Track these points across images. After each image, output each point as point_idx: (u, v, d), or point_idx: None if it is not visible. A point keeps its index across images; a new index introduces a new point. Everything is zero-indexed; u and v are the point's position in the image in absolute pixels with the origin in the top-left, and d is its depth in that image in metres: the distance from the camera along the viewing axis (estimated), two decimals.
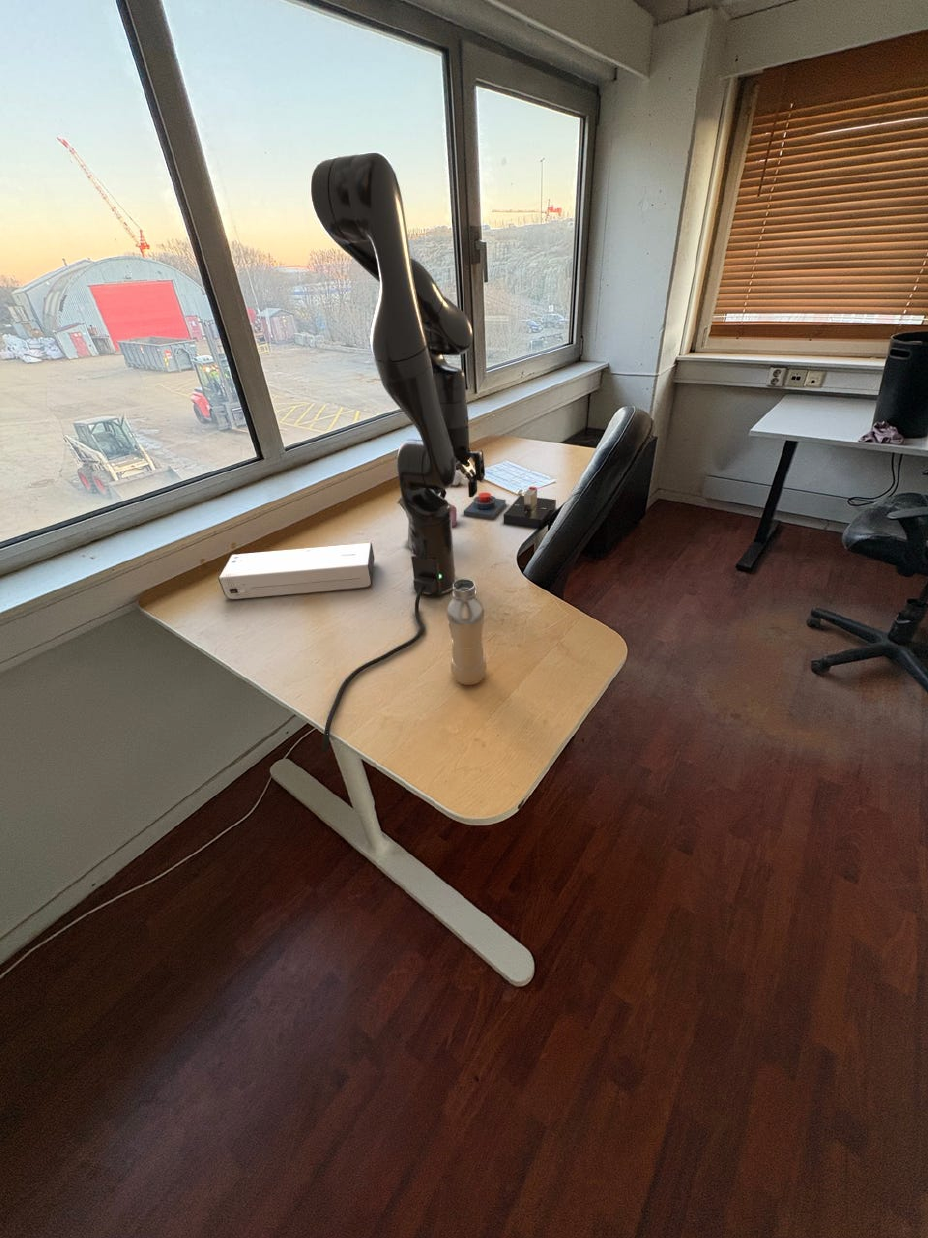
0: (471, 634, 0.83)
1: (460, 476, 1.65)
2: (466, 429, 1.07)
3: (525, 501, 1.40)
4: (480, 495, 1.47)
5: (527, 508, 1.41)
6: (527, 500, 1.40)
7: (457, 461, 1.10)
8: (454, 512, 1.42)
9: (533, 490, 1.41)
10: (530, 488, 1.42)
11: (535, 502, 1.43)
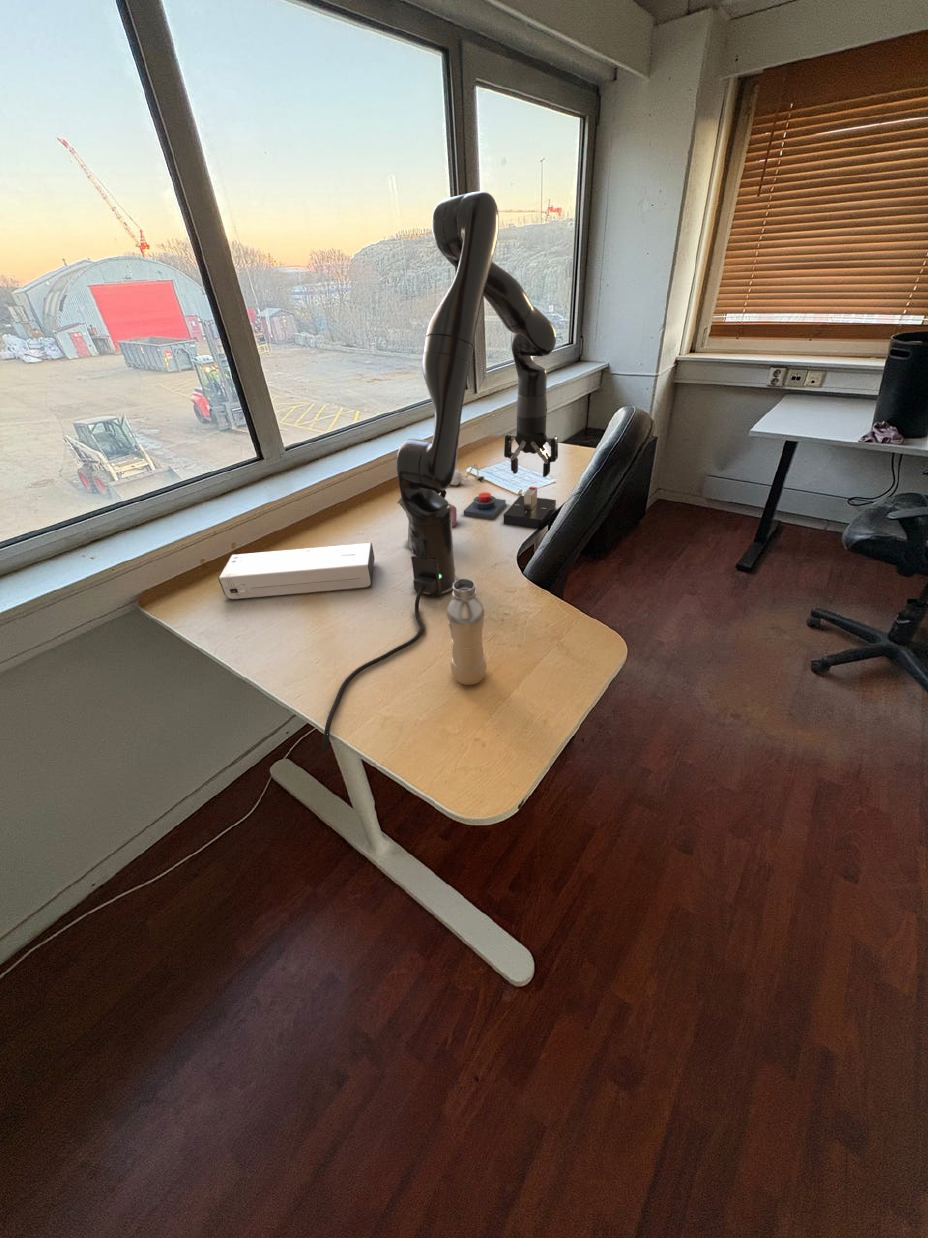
0: (471, 634, 0.83)
1: (460, 476, 1.65)
2: (545, 418, 1.27)
3: (525, 501, 1.40)
4: (480, 495, 1.47)
5: (527, 508, 1.41)
6: (527, 500, 1.40)
7: (535, 445, 1.30)
8: (454, 512, 1.42)
9: (533, 490, 1.41)
10: (530, 488, 1.42)
11: (535, 502, 1.43)
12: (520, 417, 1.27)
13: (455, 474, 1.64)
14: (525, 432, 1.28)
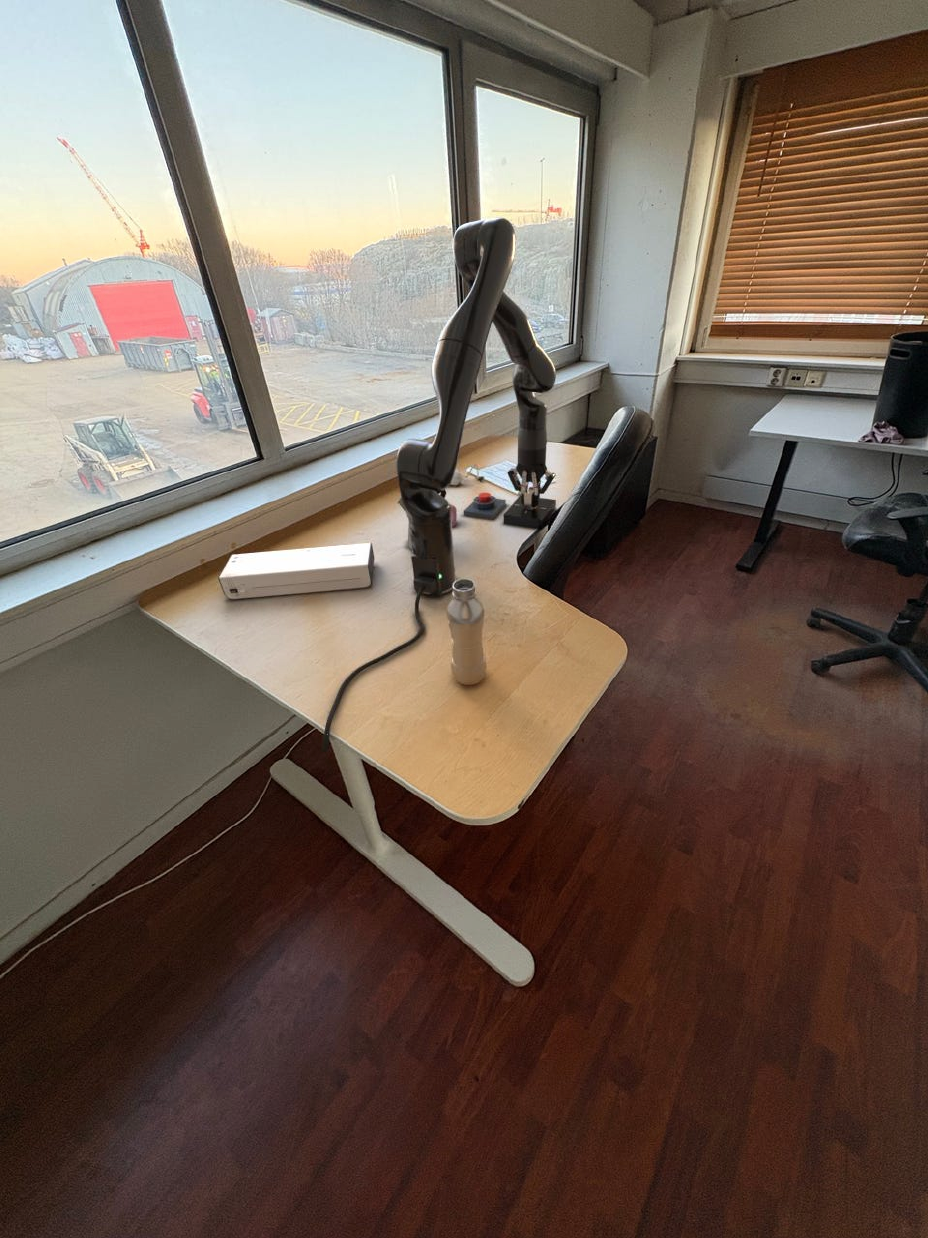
0: (471, 634, 0.83)
1: (460, 476, 1.65)
2: (545, 450, 1.32)
3: (525, 501, 1.40)
4: (480, 495, 1.47)
5: (527, 508, 1.41)
6: (527, 500, 1.40)
7: (534, 476, 1.36)
8: (454, 512, 1.42)
9: (533, 490, 1.41)
10: (530, 488, 1.42)
11: None
12: (521, 449, 1.32)
13: (455, 474, 1.64)
14: (526, 463, 1.33)
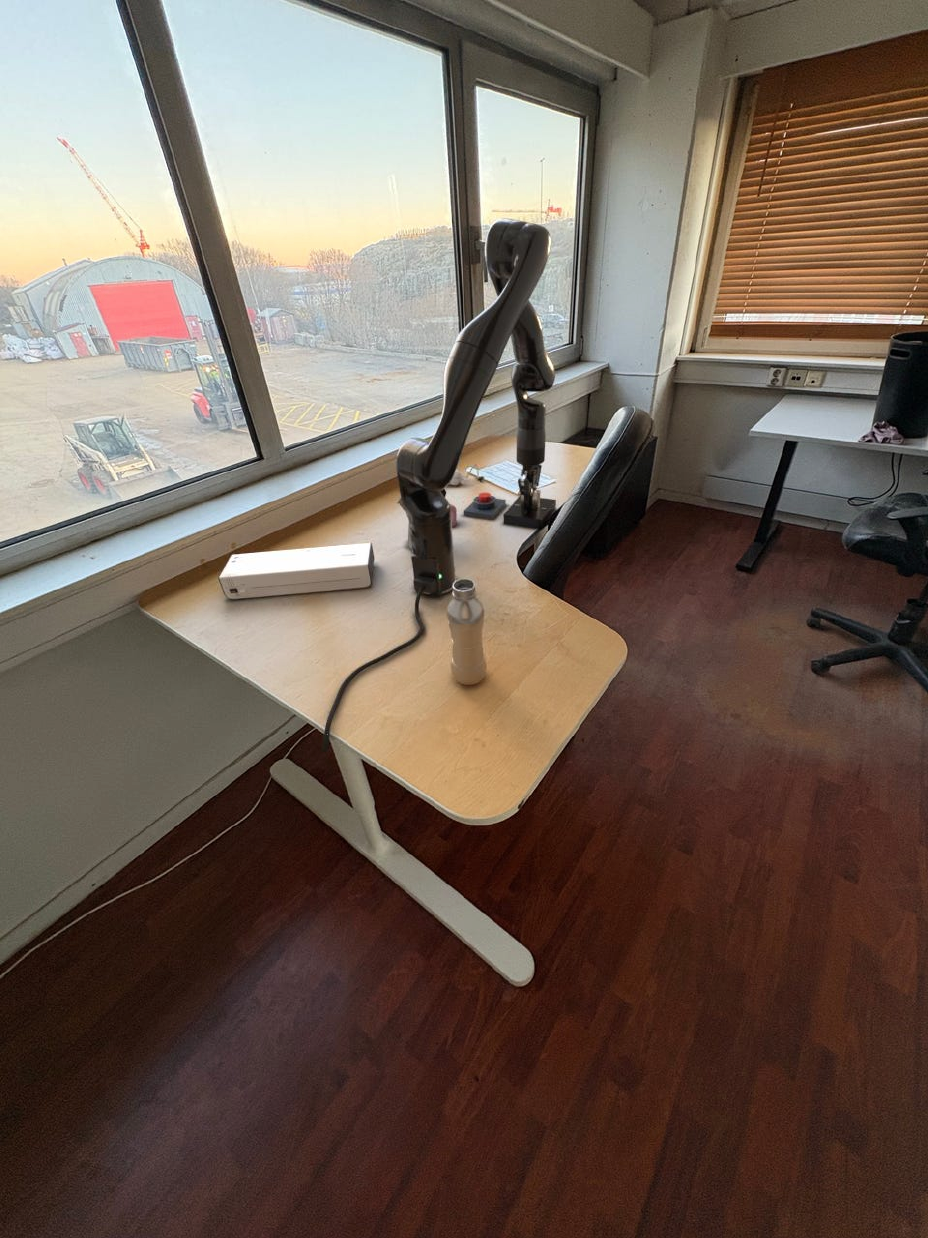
0: (471, 634, 0.83)
1: (460, 476, 1.65)
2: None
3: (538, 500, 1.41)
4: (480, 495, 1.47)
5: (538, 506, 1.42)
6: (539, 497, 1.41)
7: (538, 472, 1.38)
8: (454, 512, 1.42)
9: None
10: None
11: None
12: (540, 449, 1.31)
13: (455, 474, 1.64)
14: (543, 460, 1.34)
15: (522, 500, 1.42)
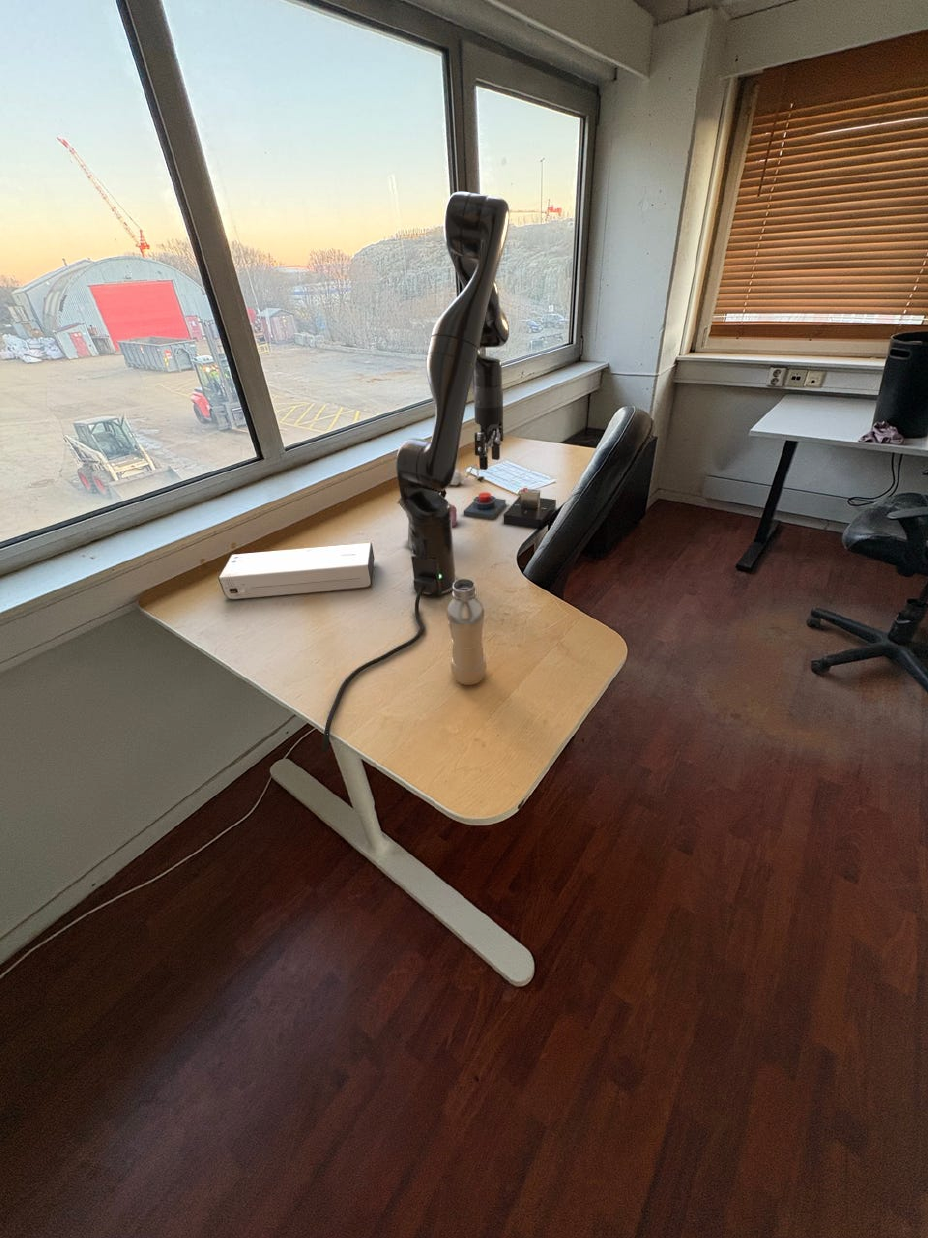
0: (471, 634, 0.83)
1: (460, 476, 1.65)
2: None
3: (538, 500, 1.40)
4: (480, 495, 1.47)
5: (538, 506, 1.42)
6: (539, 497, 1.41)
7: (498, 431, 1.37)
8: (454, 512, 1.42)
9: (530, 489, 1.41)
10: (525, 490, 1.41)
11: None
12: (497, 407, 1.29)
13: (455, 474, 1.64)
14: (501, 419, 1.32)
15: (522, 500, 1.42)
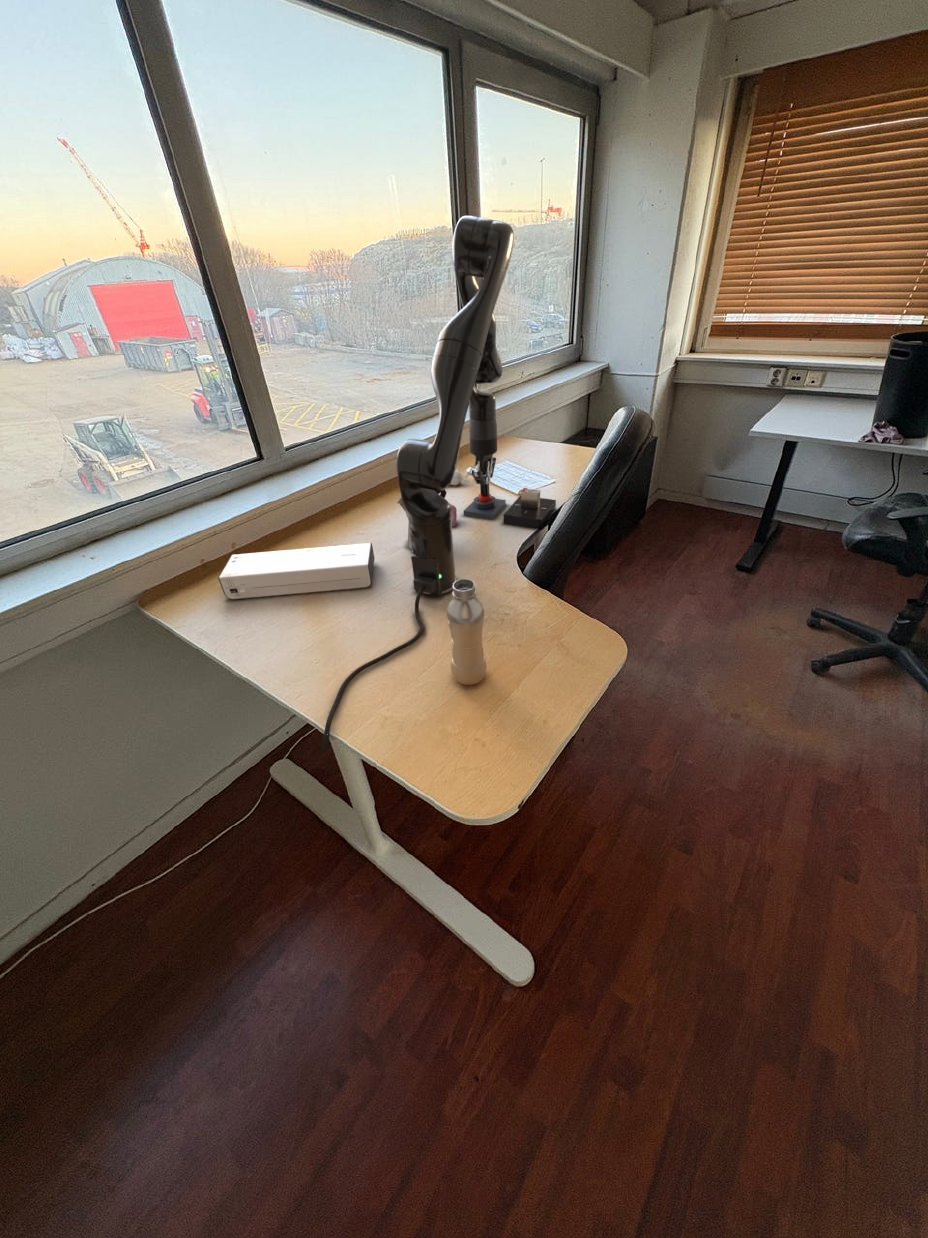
0: (471, 634, 0.83)
1: (460, 476, 1.65)
2: None
3: (538, 500, 1.40)
4: (480, 495, 1.47)
5: (538, 506, 1.42)
6: (539, 497, 1.41)
7: (492, 462, 1.42)
8: (454, 512, 1.42)
9: (530, 489, 1.41)
10: (525, 490, 1.41)
11: None
12: (491, 439, 1.35)
13: (455, 474, 1.64)
14: (495, 450, 1.38)
15: (522, 500, 1.42)
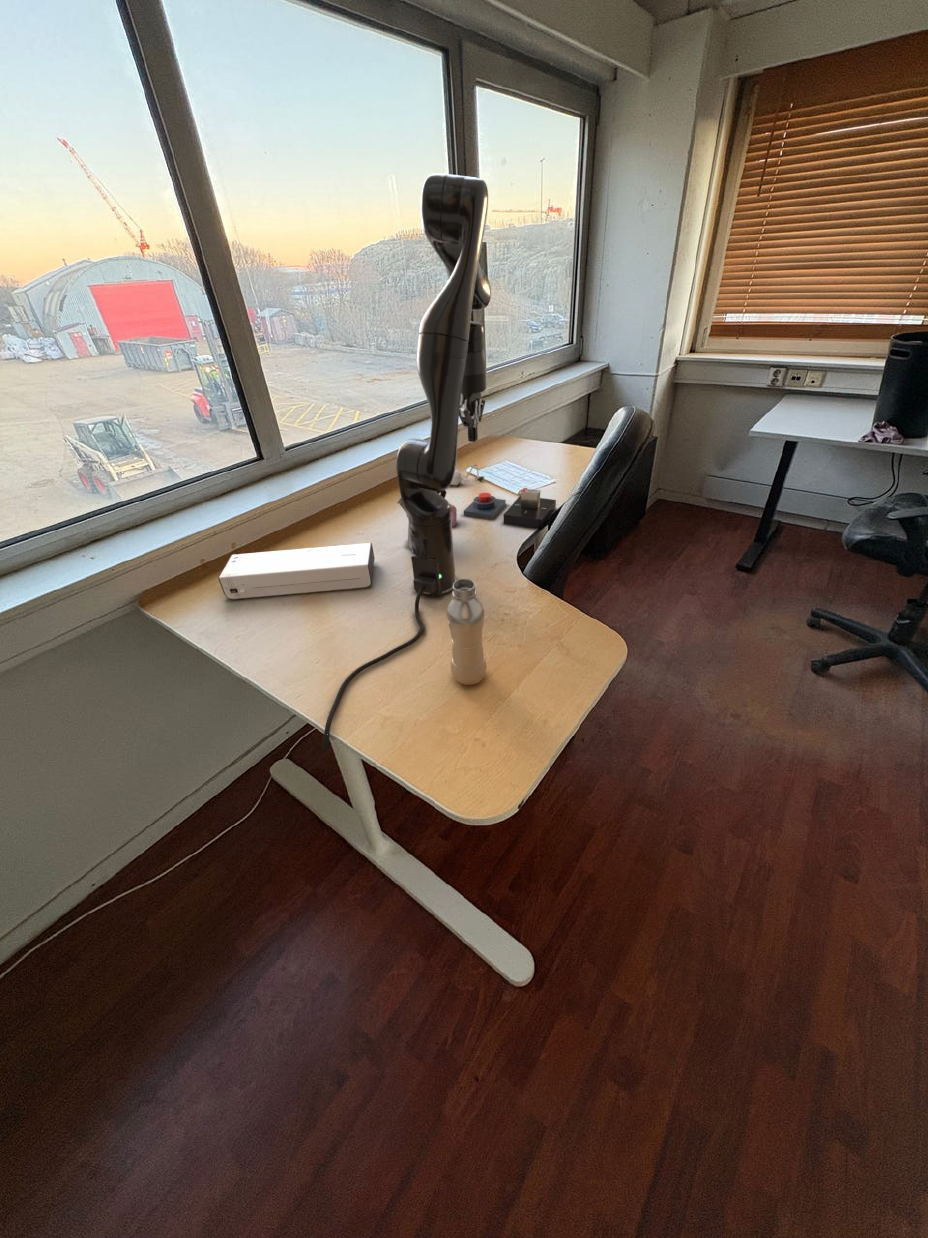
0: (471, 634, 0.83)
1: (460, 476, 1.65)
2: None
3: (538, 500, 1.40)
4: (480, 495, 1.47)
5: (538, 506, 1.42)
6: (539, 497, 1.41)
7: (480, 403, 1.32)
8: (454, 512, 1.42)
9: (530, 489, 1.41)
10: (525, 490, 1.41)
11: None
12: (479, 374, 1.24)
13: (455, 474, 1.64)
14: (484, 388, 1.27)
15: (522, 500, 1.42)
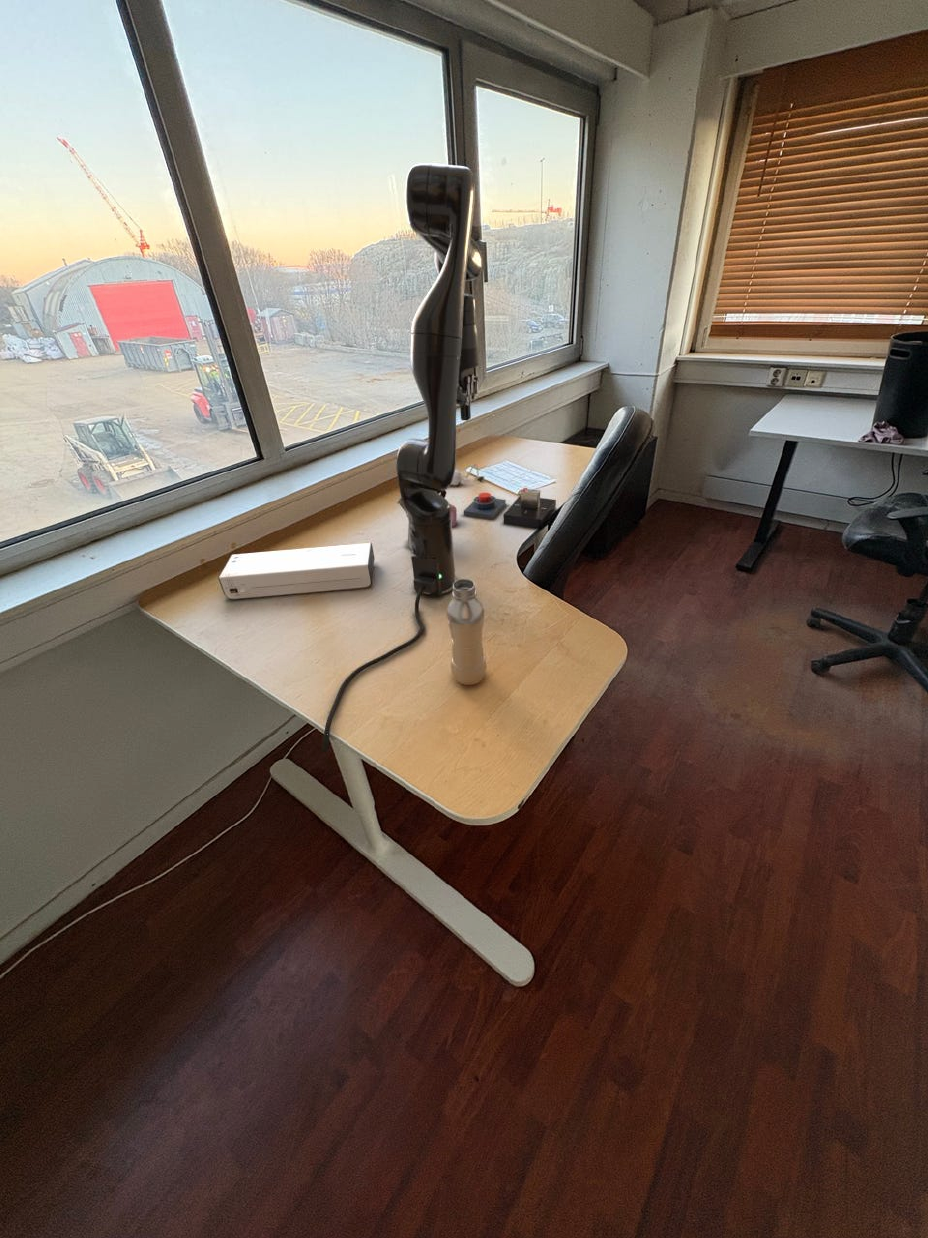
0: (471, 634, 0.83)
1: (460, 476, 1.65)
2: None
3: (538, 500, 1.40)
4: (480, 495, 1.47)
5: (538, 506, 1.42)
6: (539, 497, 1.41)
7: (473, 380, 1.27)
8: (454, 512, 1.42)
9: (530, 489, 1.41)
10: (525, 490, 1.41)
11: None
12: (471, 349, 1.20)
13: (455, 474, 1.64)
14: (476, 363, 1.23)
15: (522, 500, 1.42)
